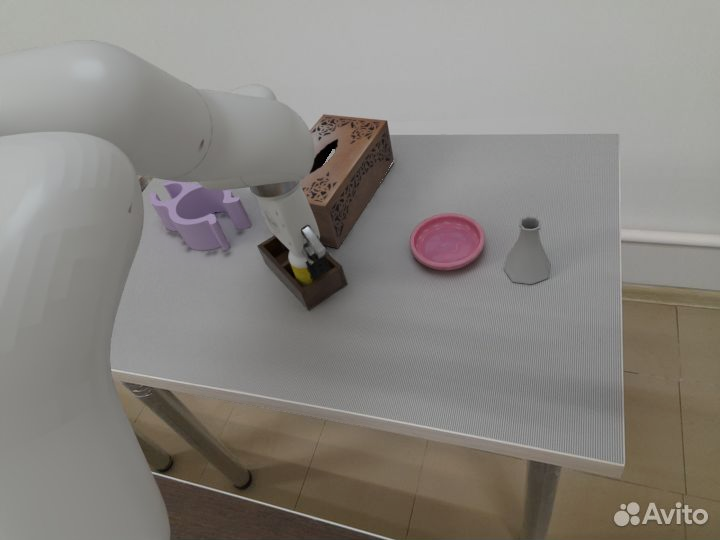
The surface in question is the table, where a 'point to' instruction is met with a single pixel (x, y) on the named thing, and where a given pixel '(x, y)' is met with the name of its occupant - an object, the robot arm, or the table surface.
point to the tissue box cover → (345, 171)
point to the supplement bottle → (301, 266)
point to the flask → (528, 254)
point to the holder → (283, 270)
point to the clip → (199, 213)
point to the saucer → (447, 241)
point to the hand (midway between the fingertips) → (306, 259)
